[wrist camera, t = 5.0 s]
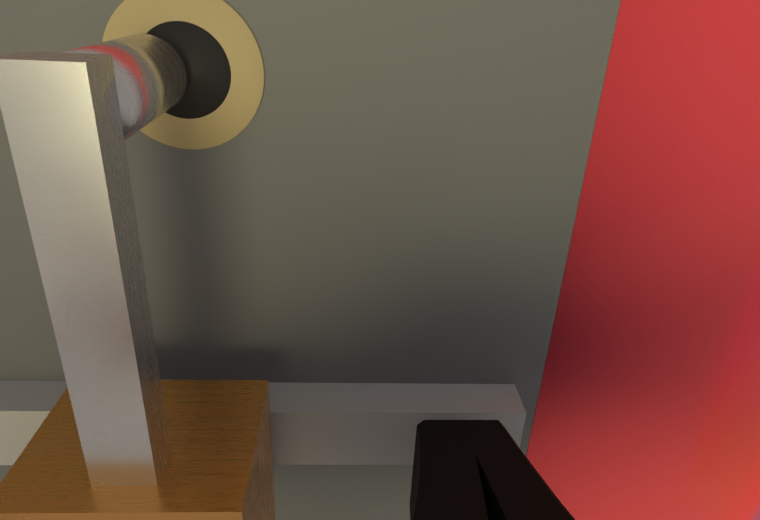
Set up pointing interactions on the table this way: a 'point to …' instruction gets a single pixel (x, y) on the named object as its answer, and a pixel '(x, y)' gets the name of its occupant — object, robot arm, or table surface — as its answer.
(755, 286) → the table surface
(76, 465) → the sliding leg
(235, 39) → the plate
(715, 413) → the table surface
